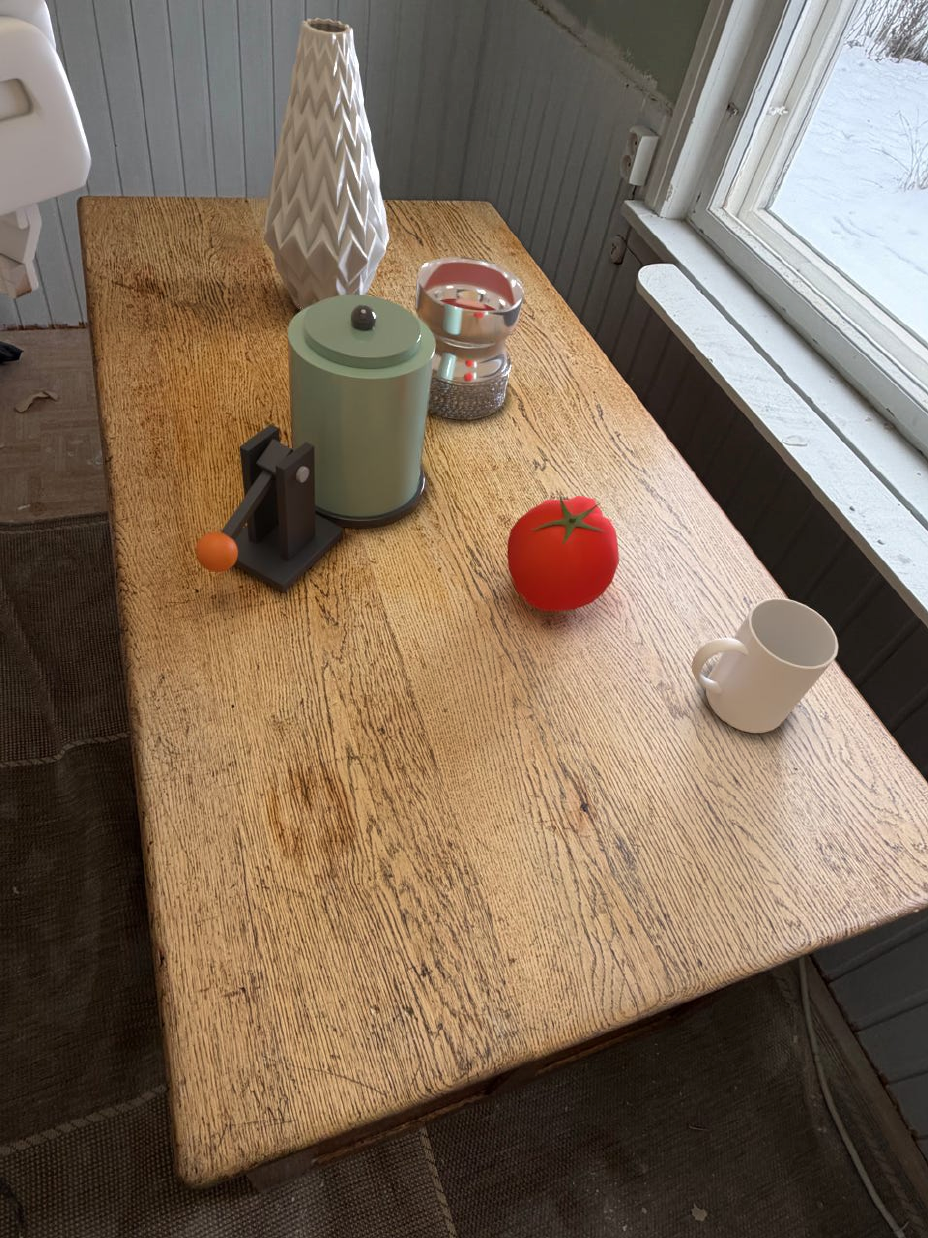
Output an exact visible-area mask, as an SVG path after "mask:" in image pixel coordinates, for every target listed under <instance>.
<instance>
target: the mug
mask: <svg viewBox="0 0 928 1238" xmlns="http://www.w3.org/2000/svg"><path fill="white" fill-rule="evenodd" d="M838 652H839V642H838V637H837V635H836V633H835V630H834V629H833V627H832V626H831V625H830V624H829V622H828V621H827V620H826V619H825V618H824V617H823V616H822V615H820V614H819V613H818V612H817V611H815V610H814V609H812V608H810V607H809V606H808V605H806V604H804V603H801V602H798V601H796V600H793V599H788V598H783V597H771V598H766V599H763V600H760V601H759V602H757V603H755V605H754V606H753V607H752V608H751V609H750V611H749V612H748V614H747V615H746V617H745V618H744V620H743V622H742V623H741V624H740V626H739V628H738V629H737V631H736V632H735V634H734V636H733V637H732V638H731V637H718V638H715V639H712V640H709V641H708V642H705V643H704V644H703V645H702V646H701V647H700V648H699V649H698V650H696V652H695V654H694V656H693V658H692V660H691V661H692V662H691V672H692V675H693V676H694V679H695V680H696V682H697V684H699V685H700V686H701V687H702V688H704V689H705V696H706V699H707V702H708V704H709V706H710V707H711V709H712V711H713V712H714V714H716V715H717V717H719V718H720V719H721V720H722V721H723V722H725V723H726V724H728V726H730V727H733V728H734V729H736V730H739V731H741V732H745V733H751V734H764V733H767V732H771V731H774V730H775V729H777V728H778V727H780V726H781V725H782V723H783V722H784V721H785V720H786V718H788V716H789V715H790V714H791V713H792V711H793V710H794V709H795V707H796V706H797V705H798V704H799V703H800V702H801V701H802V699H803V698H804V697H805V695H806V694H808V692H809V691H810V690H811V688H812V687H813V686H814V685H815V684H816V682H817V681H818V680H819V679H820V677H821V676H822V675H823V674H824V673H825V671H827V669H829V667H830V666H831V664H832V663H833V662H834V661H835V659H836V657H837V656H838ZM721 653H722V654H721ZM719 654H721V655H720V657H719V659H718V660H717V662H716V663H715V665H714V667H713V668H712V670H711V671H710V673H709V674H708V676H707V677H706V676H704V675H703V674H702V669H703V667H704V665H705V664H706V663H707V661H709V660H710V659H711V658H712V657H714V656H716V655H719Z"/></svg>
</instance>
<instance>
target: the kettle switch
mask: <svg viewBox="0 0 928 1238" xmlns="http://www.w3.org/2000/svg"><path fill="white" fill-rule="evenodd" d="M292 452H293V450H292V447H290V446H288V445H286V444H284V443H283V442H281V441H280V442H278V441H276V440H274V439H272V441H271V442H270V443H269V445H268V446H267V448H266V449H265V451H264V452H263V454H262V455H261V457H260V458H259V460H258V461H257V462H256V464H257V465H258V466H259V468H260V469H261V470H262V472H261V474H260V475H259V477H258V478H257V480H256V481H255V483H254V484H253V486H252V487H251V488H250V490H249V491H248V493H247V494H246V496H245V497H244V496H243V499H242V500H241V501H240V503H239V504H238V506H237V508H236V509H235V510H234V512H233V513H232V515H231V516H230V518H229V519H228V521H227V522H226V524H225V525H224V527H223V528H222V529H221V531H212V532H208V533H205V534H204V535H203V536H201V538H200V539H199V540H198V542H197V544H196V546H195V557H196V560H197V562H198V563H199V564H200V566H201V567H202V568H204V569H205V570H206V571H209V572H212V573H223V572H225V571H228V570H230V569H231V568H232V567H234V563H235V562H236V560H237V556H238V548H237V545H236V543H235V539H236V538H237V536H238V535H239V533H240V532H241V530H242V529H243V528H244V527H245V526H246V525H247V521H248V520H249V518H250V517H251V515H252V514H253V512H254V511H255V509H256V508H257V507H258V505H259V504H260V502H261V501H262V499H263V498H264V496H265V495H266V493H267V492H268V490H269V489H270V487H271V486H272V484H273V483H274V481H275V480H276V467H275V466H276V464H278V463H279V462H280V461H282V460H283V459H284V458H286V457H287V456H288V455H289V454H291V453H292Z"/></svg>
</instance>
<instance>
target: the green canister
mask: <svg viewBox="0 0 928 1238" xmlns="http://www.w3.org/2000/svg"><path fill="white" fill-rule="evenodd" d="M286 334H287V335H286V336H287V359H288V360H287V361H288V385H289V386H288V387H289V409H290V410H289V413H290V439H291V448H292V450H293V451H295V450H296V449H297V448H298V447H300V446H301V445H302V444H304V443H305V442H308V443H310V444H312V445H314V451H315V514H317V515H318V516H320V517H322V518H324V519H326V520H328V521H330V522H332V523H334V524H336V525H337V526H339V527H341V528H347V529H373V528H379V527H383V526H388V525H391V524H393V523H397V522H398V521H400V520H402V519H404V518H405V517H407V516H409V514H410V513H412V512H413V511H414V510H415V509H416V508H417V507H418V505H419V504H420V502H421V500H422V497H423V494H424V489H425V482H426V481H425V473H424V469H423V467H422V461H423V453H424V445H425V437H426V428H427V421H428V414H429V412H428V405H429V397H430V388H431V380H432V372H433V364H434V355H435V347H436V344H435V338H434V335H433V333H432V332H431V330H430V329H429V327H428V326H427V325H426V324H425V323H424V322H423V321H422V320H421V319H419V318H418V315H415V314H413V313H412V312H411V311H410V310H408V309H407V308H406V307H404V306H402V305H400V304H398V303H396V302H394V301H391V300H388V299H385V298H381V297H378V296H373V295H367V294H365V295H340V296H334V297H330V298H326V299H324V300H321V301H319V302H317V303H315V304H314V305H311V306H309V307H307V308H305V309H303V310H302V311H300V310H299V311H298V313H296V314H295V315H294V316H293V318H292V319H291V320H290V322H289V325H288V327H287V333H286Z"/></svg>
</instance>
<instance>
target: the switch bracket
mask: <svg viewBox="0 0 928 1238" xmlns="http://www.w3.org/2000/svg"><path fill="white" fill-rule="evenodd" d="M280 433H281V431H280V427H279V426H276V425H274V424H273V423H270V424H269V425H267V426H266V427H265V428H263V429H262V430H261V431H259V432H257V433H256V434H255V435H253V436H252V437H251V438H249V439H248V440H246V441H245V442H244V443H242V444H241V445H239V457H240V468H241V478H242V486H243V498H244V497H245V496H246V494H247V493H248V491H249V490H250V488H251V487H252V486H253V484H254V483H255V481H256V480H257V478H258V477H259V475H260V474H261V472H262V470H261V469H260V468H259V466H258V465H257V464H256V462H257V461H258V460H259V458H260V457H261V455H262V454H263V452H264V451H265V449H266V448H267V446H268V445H269V443H270V442H271V441H272V439H274V440H276V441H278V442H280V443H281V434H280ZM275 467H276V480H275V481H274V483H273V484H272V486H271V487H270V489H269V490H268V492H267V493H266V495H265V496H264V498H263V499H262V501H261V502H260V504H259V505H258V507H257V508H256V509H255V511H254V512H253V514H252V515H251V517H250V518H249V520H248V521H247V523H246V525H245V526H244V527H243V529H242V530H241V532H240V533H239V535H238V536H237V538H236V539H235V543H236V545H237V548H238V556H237V560H236V562H235V563H234V565H233V567H236V568H237V569H239V570H241V571H243V572H245V573H247V574H249V575H250V576H252V577H253V578H256V579H257V580H259V581H261V582H262V583H264V584H265V585H268V586H269V587H271V588H273V589H275V590H277V591H279V592H280V593H285V592H286V591H288V589H289V588H291V586H293V585H294V584H295V582H297V581H298V580H299V579H300V578H301V577H302V576H303V575H304V574H305V573H306V572H307V571H309V570H310V569H311V567H313V566H314V565H315V564H316V563H317V562H318V561H319V560H321V558H322V557H323V556H324V555H325V554H326V553H328V552H329V551H330V550H331V549H332V548H333V547H334V546H336V544H337V543H338V542H340V540H342V538H344V527H340V526H337V525H336V524H334V523H332V522H330V521H328V520H326V519H324V518H322V517H320V516H318V515H317V514H315V451H314V445H312V444H310V443H308V442H305V443H304V444H302V445H301V446H300V447H298V448H297V449H296V450H295V451H293V452H292V453H291V454H289V455H288V456H287V457H286V458H284V459H283V460H282V461H280V462H279V463H278V464H276V466H275Z"/></svg>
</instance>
